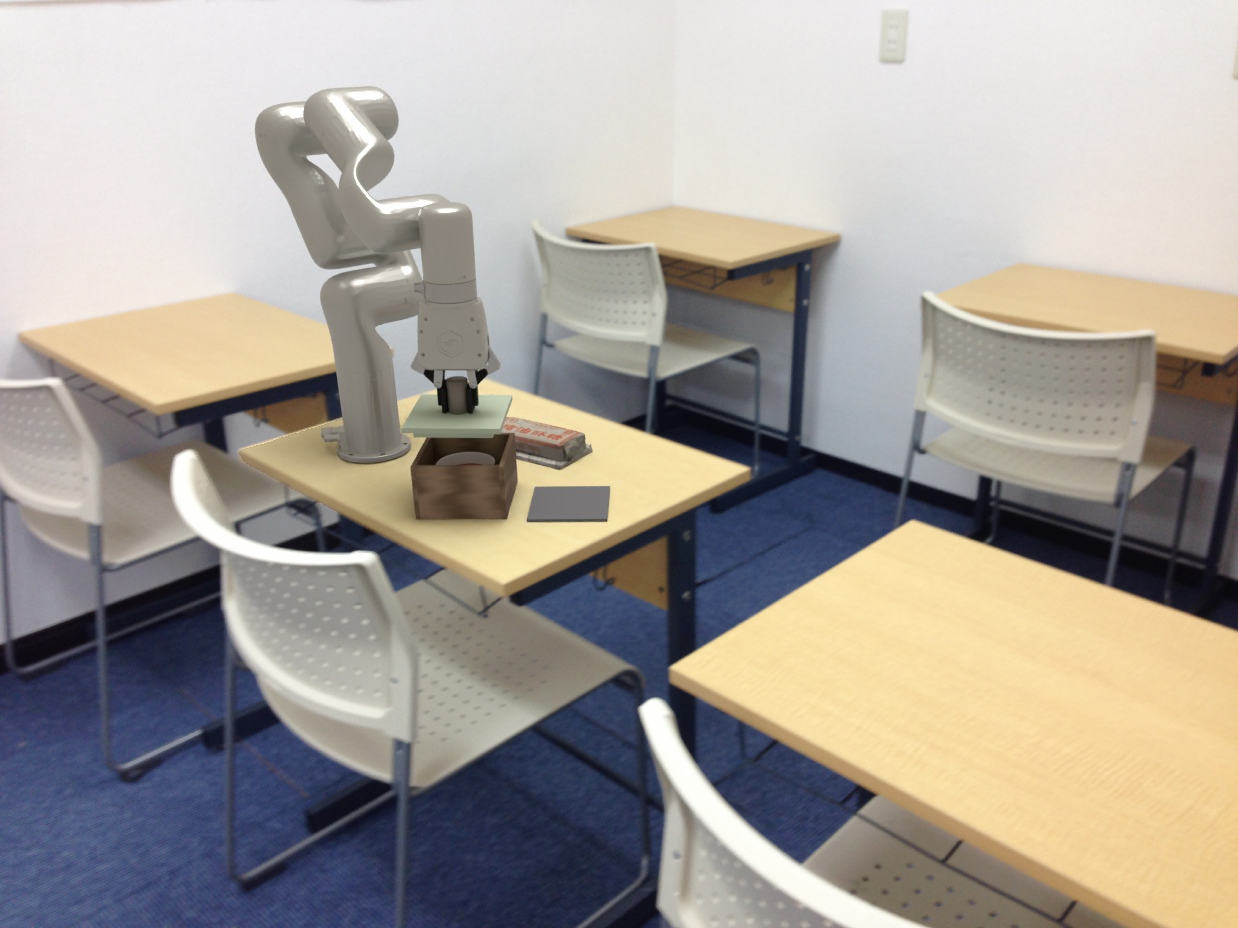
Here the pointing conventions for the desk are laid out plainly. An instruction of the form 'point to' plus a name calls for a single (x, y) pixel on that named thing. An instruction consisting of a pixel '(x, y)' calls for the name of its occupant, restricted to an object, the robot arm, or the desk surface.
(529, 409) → the desk surface
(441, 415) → the lid
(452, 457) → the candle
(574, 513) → the mat
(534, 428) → the packaged product
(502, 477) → the box
